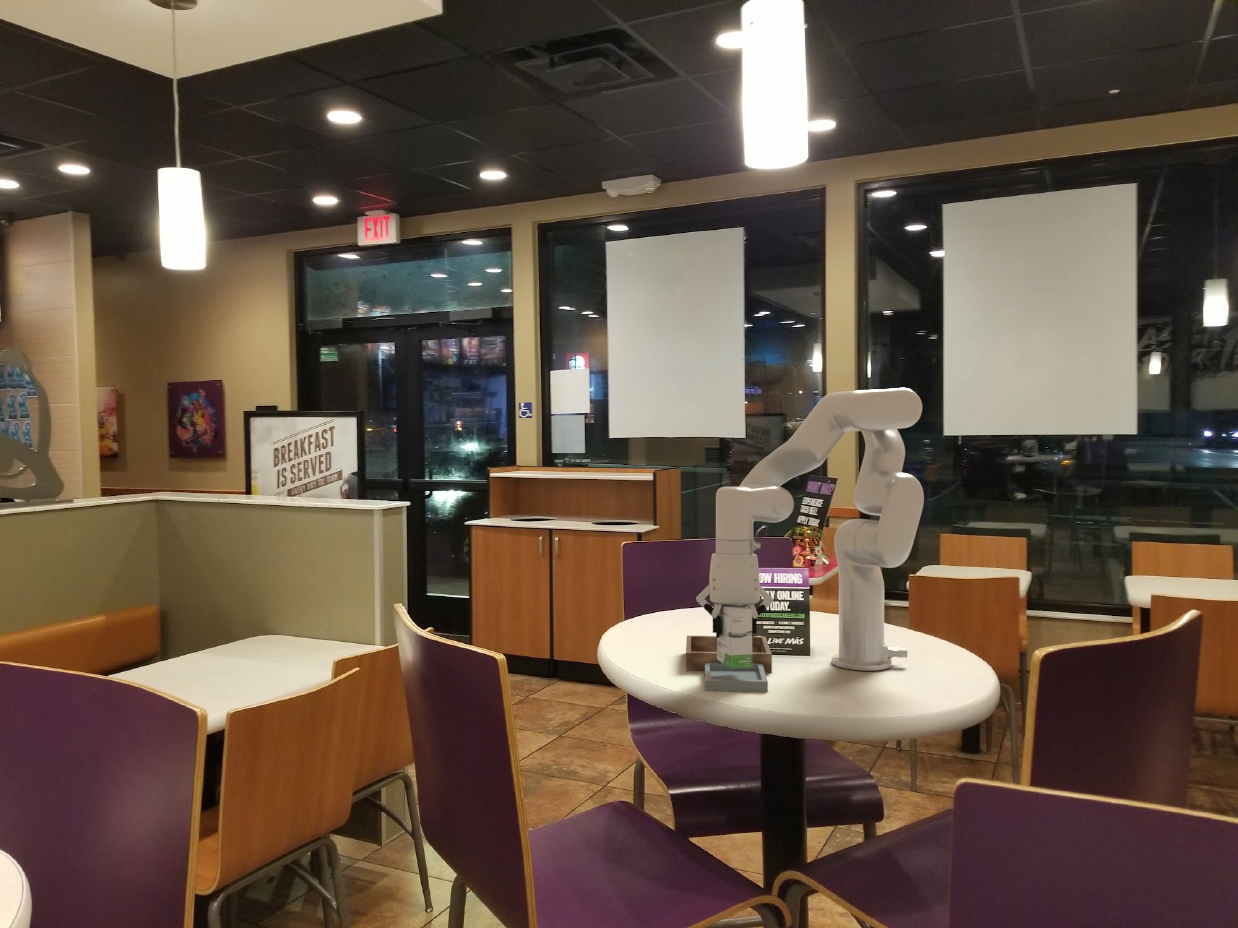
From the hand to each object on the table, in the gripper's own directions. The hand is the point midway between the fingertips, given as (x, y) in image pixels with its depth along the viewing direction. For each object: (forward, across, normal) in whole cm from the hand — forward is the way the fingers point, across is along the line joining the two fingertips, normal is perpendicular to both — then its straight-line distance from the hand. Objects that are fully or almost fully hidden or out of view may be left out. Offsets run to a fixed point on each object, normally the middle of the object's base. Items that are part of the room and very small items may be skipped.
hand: (734, 635), depth 177 cm
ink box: (+6, 0, 0) cm, 6 cm away
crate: (+9, +1, -16) cm, 19 cm away
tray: (+9, 0, 0) cm, 9 cm away
